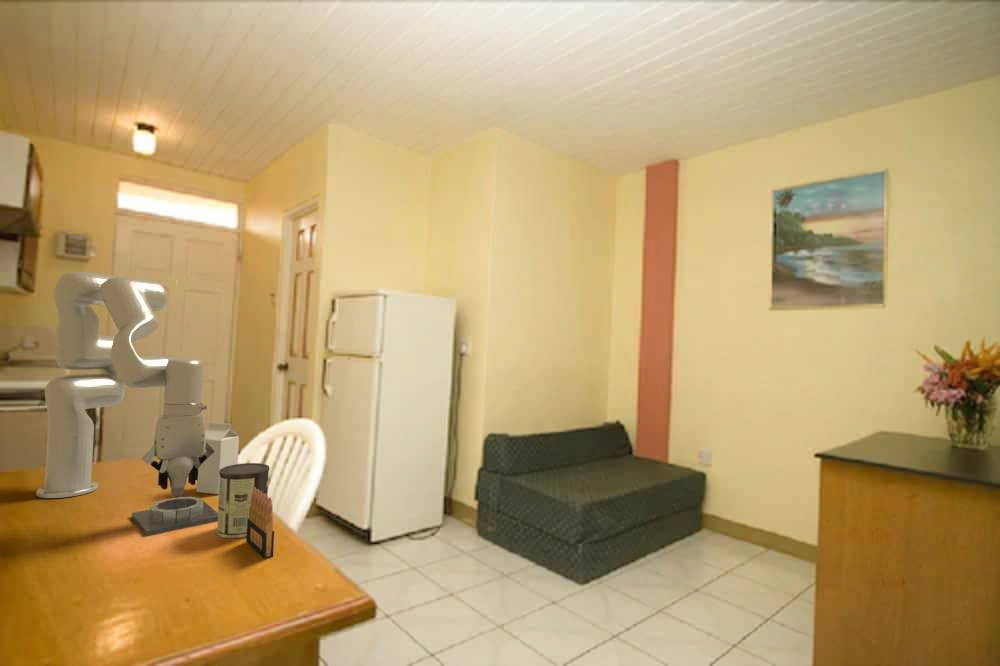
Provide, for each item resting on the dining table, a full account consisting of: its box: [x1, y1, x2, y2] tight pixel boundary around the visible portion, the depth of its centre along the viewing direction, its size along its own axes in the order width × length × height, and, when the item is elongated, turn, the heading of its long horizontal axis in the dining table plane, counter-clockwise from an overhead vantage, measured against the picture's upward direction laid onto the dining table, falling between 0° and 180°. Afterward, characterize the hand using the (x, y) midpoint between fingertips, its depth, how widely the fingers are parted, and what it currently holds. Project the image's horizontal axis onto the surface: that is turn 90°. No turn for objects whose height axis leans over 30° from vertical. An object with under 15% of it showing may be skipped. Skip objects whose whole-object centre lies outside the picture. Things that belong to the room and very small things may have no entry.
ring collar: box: [131, 496, 218, 537], centre depth 118 cm, size 15×15×4 cm
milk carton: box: [196, 422, 240, 495], centre depth 140 cm, size 7×7×19 cm
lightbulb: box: [166, 456, 194, 498], centre depth 118 cm, size 6×6×11 cm
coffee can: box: [216, 462, 270, 539], centre depth 113 cm, size 10×10×14 cm
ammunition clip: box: [245, 487, 275, 559], centre depth 104 cm, size 11×2×12 cm, turn 45°
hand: (178, 485), depth 118 cm, fingers closed on lightbulb, 5 cm apart
